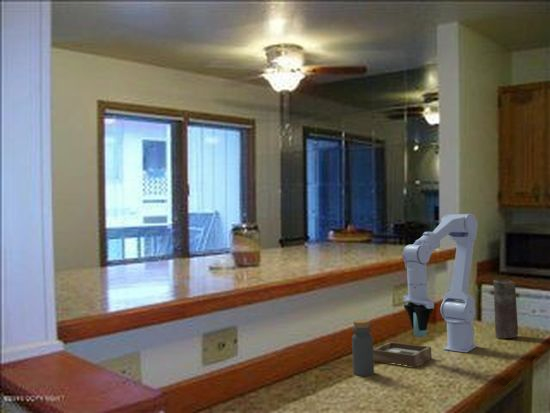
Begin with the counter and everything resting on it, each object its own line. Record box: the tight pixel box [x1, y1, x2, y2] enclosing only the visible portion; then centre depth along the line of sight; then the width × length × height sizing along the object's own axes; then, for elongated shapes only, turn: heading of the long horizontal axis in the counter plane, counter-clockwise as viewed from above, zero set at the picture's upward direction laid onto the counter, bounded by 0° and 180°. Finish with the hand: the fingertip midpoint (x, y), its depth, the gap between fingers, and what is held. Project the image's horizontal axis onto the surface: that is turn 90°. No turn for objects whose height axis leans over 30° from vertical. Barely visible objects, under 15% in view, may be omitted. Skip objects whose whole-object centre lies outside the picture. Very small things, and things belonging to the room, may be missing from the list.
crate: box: [373, 341, 433, 368], centre depth 175 cm, size 12×14×4 cm
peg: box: [413, 312, 427, 338], centre depth 172 cm, size 4×4×7 cm
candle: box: [492, 278, 519, 339], centre depth 197 cm, size 8×7×20 cm
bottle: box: [351, 318, 375, 377], centre depth 163 cm, size 6×6×15 cm
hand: (419, 328), depth 172 cm, fingers closed on peg, 4 cm apart
